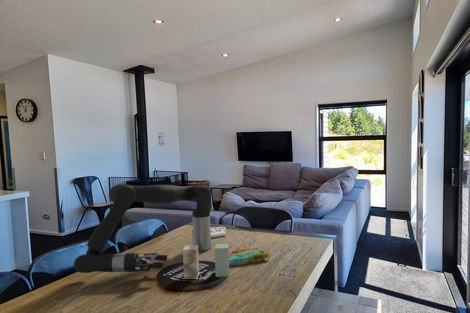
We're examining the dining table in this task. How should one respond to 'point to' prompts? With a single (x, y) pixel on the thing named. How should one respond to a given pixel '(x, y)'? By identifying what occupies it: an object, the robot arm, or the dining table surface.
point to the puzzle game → (246, 256)
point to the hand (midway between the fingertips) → (164, 261)
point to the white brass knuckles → (218, 231)
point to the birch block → (191, 262)
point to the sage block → (222, 260)
